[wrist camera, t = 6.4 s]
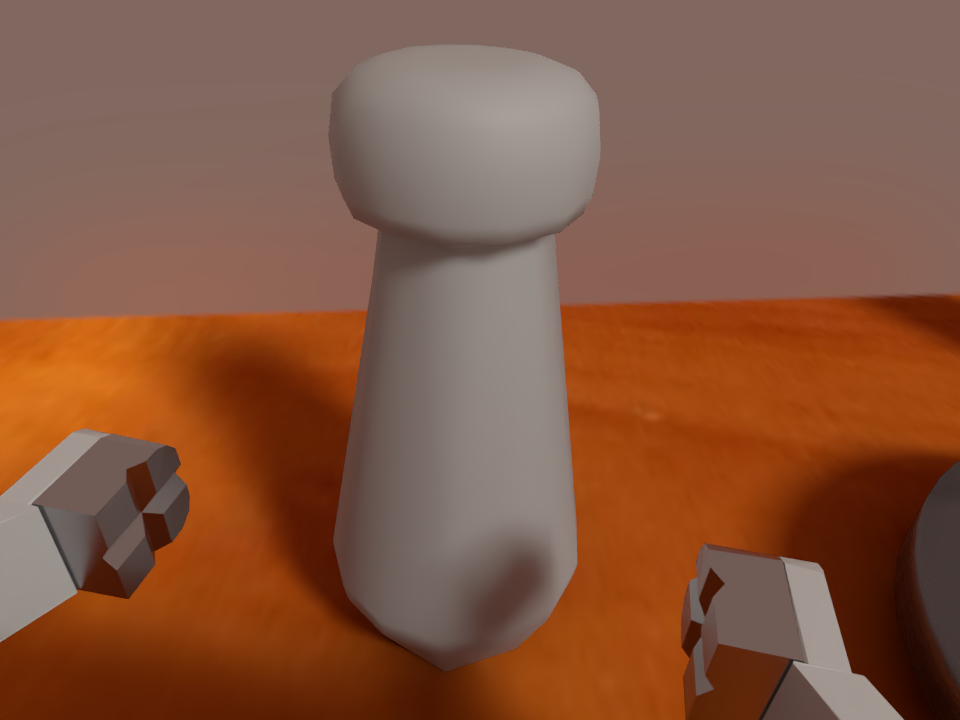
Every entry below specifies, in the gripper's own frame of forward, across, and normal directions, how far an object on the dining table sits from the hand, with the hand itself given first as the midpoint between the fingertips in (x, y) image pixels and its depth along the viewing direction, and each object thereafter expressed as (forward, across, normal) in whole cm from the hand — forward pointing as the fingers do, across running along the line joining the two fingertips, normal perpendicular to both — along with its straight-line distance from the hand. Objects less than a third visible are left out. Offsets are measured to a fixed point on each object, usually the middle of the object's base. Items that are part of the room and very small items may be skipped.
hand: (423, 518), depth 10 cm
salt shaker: (+4, 0, -7) cm, 8 cm away
